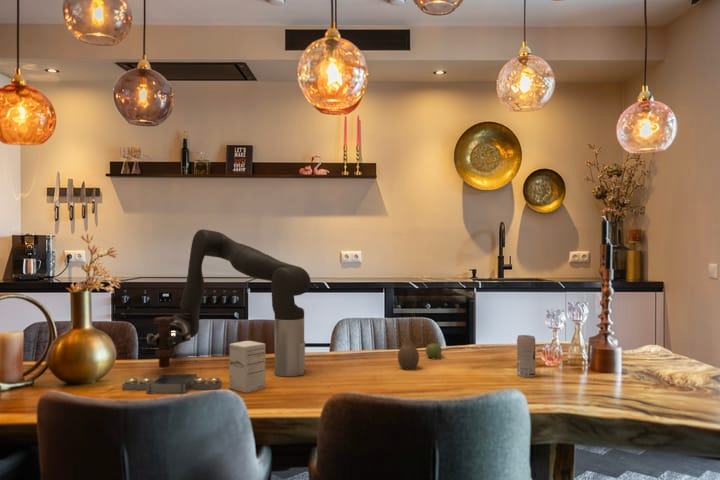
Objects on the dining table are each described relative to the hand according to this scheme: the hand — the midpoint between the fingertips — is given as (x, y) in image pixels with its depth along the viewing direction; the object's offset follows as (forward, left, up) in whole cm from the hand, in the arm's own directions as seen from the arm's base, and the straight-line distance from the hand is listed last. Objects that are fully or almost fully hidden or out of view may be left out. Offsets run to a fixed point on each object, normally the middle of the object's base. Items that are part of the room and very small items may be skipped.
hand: (161, 342), depth 159 cm
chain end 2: (-11, +10, -11) cm, 18 cm away
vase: (-76, -12, -11) cm, 77 cm away
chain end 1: (-2, +10, -11) cm, 15 cm away
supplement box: (-28, +11, -11) cm, 32 cm away
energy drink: (-111, -1, -11) cm, 111 cm away
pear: (-87, -30, -11) cm, 92 cm away
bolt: (0, -3, -8) cm, 9 cm away
